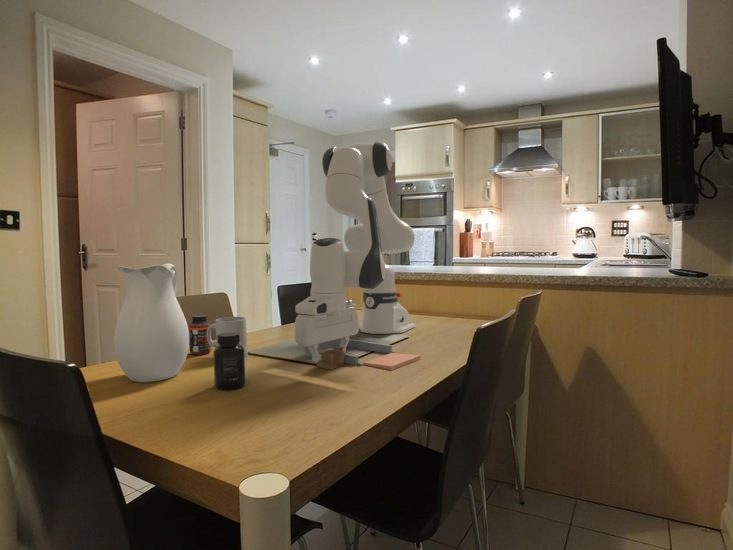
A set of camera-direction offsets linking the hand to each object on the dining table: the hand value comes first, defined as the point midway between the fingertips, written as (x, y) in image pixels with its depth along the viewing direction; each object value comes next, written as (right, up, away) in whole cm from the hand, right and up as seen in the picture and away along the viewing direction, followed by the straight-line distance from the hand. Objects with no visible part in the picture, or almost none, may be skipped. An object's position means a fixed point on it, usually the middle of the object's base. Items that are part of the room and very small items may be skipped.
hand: (329, 357), depth 120 cm
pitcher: (-43, -4, +2) cm, 44 cm away
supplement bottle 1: (-40, -3, +22) cm, 46 cm away
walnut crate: (0, -3, +1) cm, 4 cm away
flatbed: (+4, -2, +13) cm, 13 cm away
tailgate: (+12, -2, +6) cm, 14 cm away
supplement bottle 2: (-22, -5, -11) cm, 25 cm away
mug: (-31, -3, +17) cm, 36 cm away
